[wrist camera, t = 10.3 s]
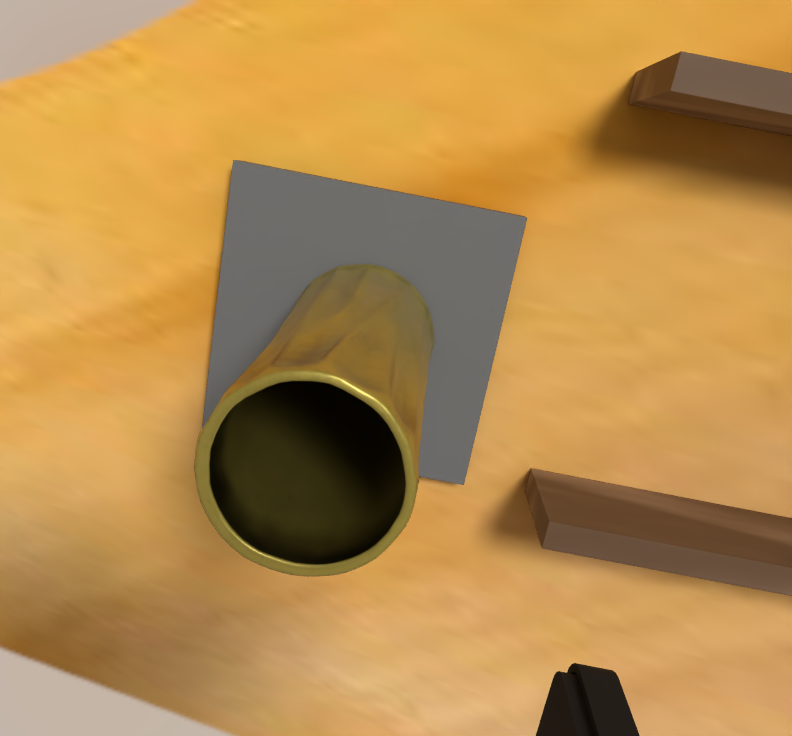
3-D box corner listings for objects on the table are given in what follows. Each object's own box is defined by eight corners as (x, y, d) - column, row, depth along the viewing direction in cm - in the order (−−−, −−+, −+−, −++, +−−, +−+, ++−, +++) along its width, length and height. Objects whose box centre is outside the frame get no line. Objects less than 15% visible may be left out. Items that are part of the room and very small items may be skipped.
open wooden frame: (860, 555, 32) (935, 623, 28) (525, 491, 32) (541, 548, 28) (1035, 150, 27) (1164, 147, 22) (636, 71, 27) (681, 51, 22)
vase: (394, 237, 28) (362, 303, 15) (458, 367, 30) (482, 538, 16) (265, 301, 29) (122, 419, 16) (332, 424, 31) (255, 631, 17)
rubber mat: (462, 475, 32) (463, 485, 31) (208, 426, 32) (201, 434, 31) (524, 216, 29) (527, 217, 28) (239, 160, 29) (233, 160, 28)
